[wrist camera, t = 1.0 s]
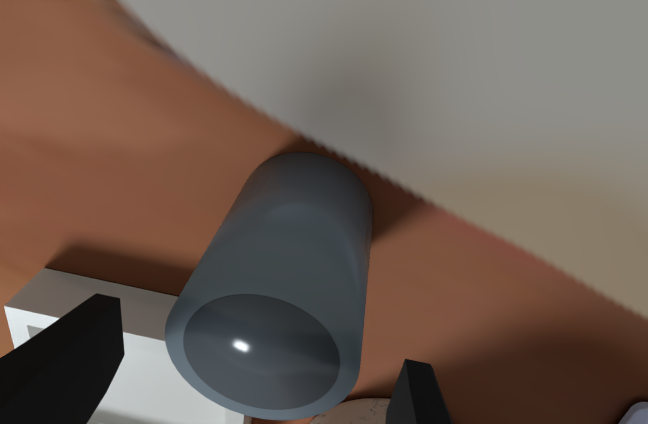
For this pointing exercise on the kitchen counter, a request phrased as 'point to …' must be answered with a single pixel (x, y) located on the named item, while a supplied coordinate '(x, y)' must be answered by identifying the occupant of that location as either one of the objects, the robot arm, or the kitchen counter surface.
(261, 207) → the tumbler
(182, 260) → the kitchen counter surface
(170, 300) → the tray
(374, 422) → the teacup with lid
